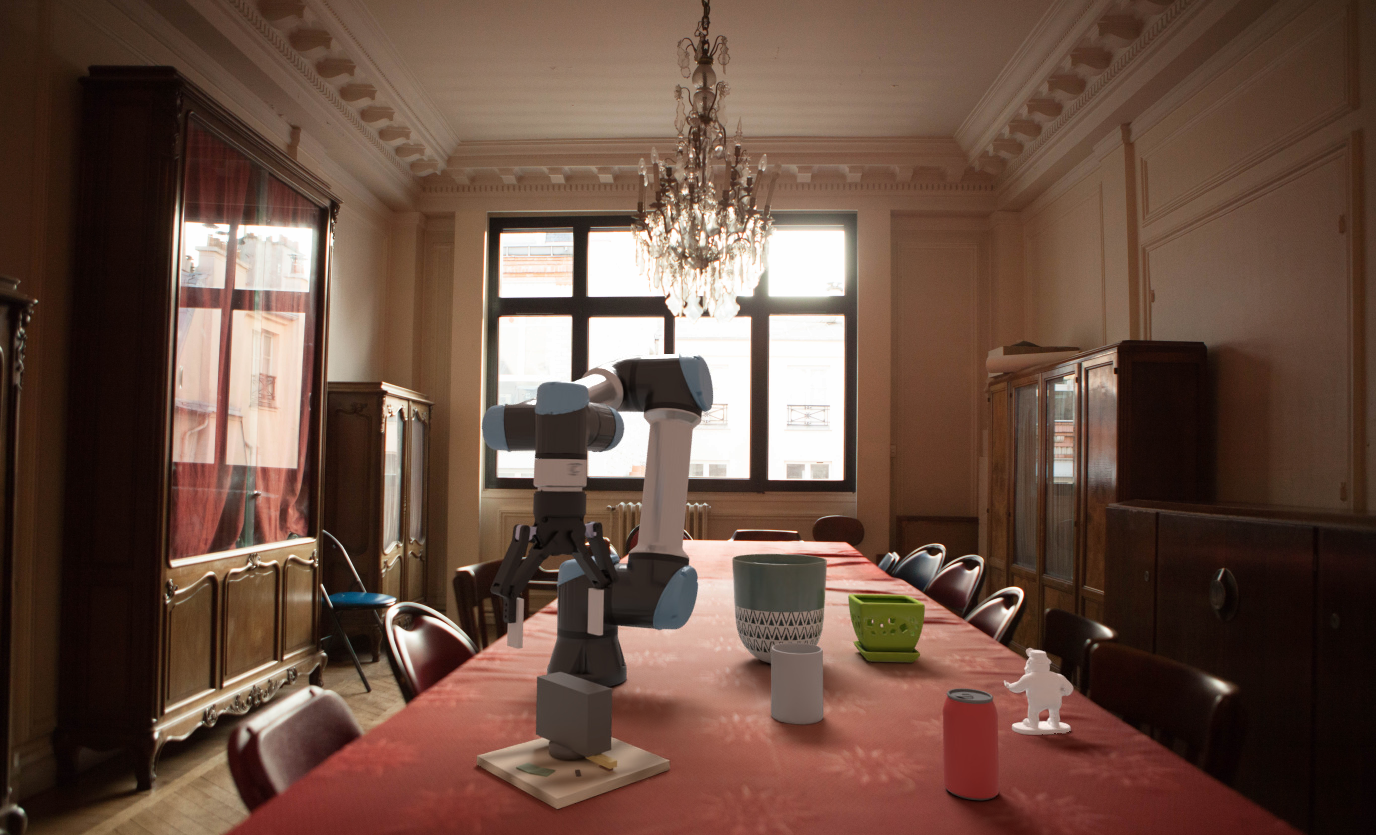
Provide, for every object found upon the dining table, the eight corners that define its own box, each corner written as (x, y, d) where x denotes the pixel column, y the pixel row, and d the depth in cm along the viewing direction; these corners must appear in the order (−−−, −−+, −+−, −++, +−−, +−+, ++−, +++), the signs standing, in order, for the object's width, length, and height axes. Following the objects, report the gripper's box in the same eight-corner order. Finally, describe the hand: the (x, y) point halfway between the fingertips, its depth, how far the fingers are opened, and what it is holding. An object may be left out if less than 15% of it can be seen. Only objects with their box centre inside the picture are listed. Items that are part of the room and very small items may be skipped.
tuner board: (476, 764, 106) (476, 754, 106) (584, 734, 119) (584, 724, 119) (557, 809, 92) (557, 797, 92) (669, 769, 105) (669, 758, 105)
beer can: (935, 781, 101) (934, 687, 102) (984, 780, 102) (982, 686, 103) (956, 803, 95) (955, 702, 96) (1009, 802, 95) (1007, 701, 96)
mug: (828, 724, 124) (827, 654, 125) (774, 724, 124) (774, 654, 125) (814, 702, 136) (814, 638, 137) (765, 702, 136) (765, 637, 137)
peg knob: (528, 745, 109) (529, 678, 110) (566, 734, 114) (567, 670, 114) (593, 775, 99) (594, 701, 99) (632, 763, 103) (633, 691, 104)
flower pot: (927, 666, 162) (926, 603, 163) (859, 665, 162) (859, 603, 163) (909, 650, 176) (908, 593, 177) (846, 650, 176) (846, 592, 177)
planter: (765, 678, 151) (765, 566, 153) (714, 656, 169) (715, 556, 170) (847, 667, 160) (846, 561, 162) (791, 647, 178) (790, 552, 179)
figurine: (1054, 721, 127) (1052, 645, 127) (1079, 734, 120) (1077, 655, 121) (1001, 723, 125) (999, 647, 126) (1024, 737, 119) (1022, 656, 120)
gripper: (496, 490, 101) (491, 657, 100) (643, 489, 118) (641, 632, 117) (468, 489, 107) (462, 648, 105) (612, 488, 124) (609, 625, 122)
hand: (556, 640), depth 111 cm, fingers open, 13 cm apart
